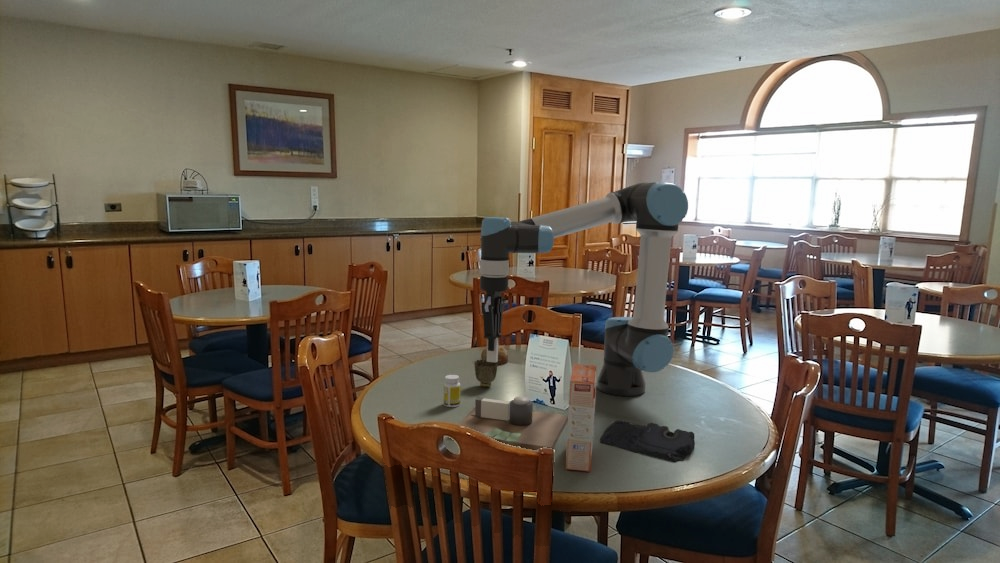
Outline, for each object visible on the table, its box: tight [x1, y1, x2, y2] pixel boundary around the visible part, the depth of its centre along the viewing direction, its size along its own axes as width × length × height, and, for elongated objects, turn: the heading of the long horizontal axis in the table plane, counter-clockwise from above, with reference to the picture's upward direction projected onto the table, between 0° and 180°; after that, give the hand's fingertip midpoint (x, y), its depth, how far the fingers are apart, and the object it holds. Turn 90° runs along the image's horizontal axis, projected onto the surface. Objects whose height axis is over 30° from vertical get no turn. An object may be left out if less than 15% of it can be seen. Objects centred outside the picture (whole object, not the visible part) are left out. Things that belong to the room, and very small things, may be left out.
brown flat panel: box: [458, 407, 568, 450], centre depth 157 cm, size 26×23×1 cm
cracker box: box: [565, 363, 597, 473], centre depth 139 cm, size 14×6×21 cm, turn 170°
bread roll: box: [480, 344, 509, 365], centre depth 220 cm, size 10×10×8 cm
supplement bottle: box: [443, 374, 461, 408], centre depth 173 cm, size 5×5×8 cm
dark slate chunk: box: [599, 419, 696, 463], centre depth 150 cm, size 15×22×5 cm
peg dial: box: [474, 396, 534, 425], centre depth 160 cm, size 15×6×6 cm, turn 73°
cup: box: [474, 359, 499, 389], centre depth 190 cm, size 8×7×8 cm
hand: (492, 361), depth 164 cm, fingers closed
